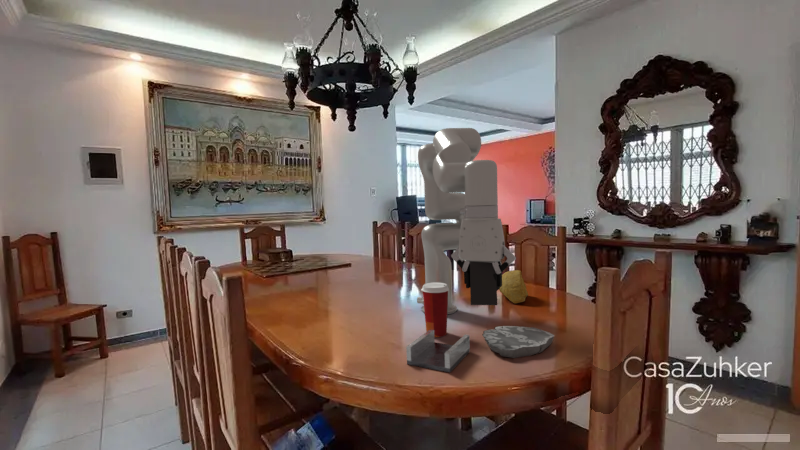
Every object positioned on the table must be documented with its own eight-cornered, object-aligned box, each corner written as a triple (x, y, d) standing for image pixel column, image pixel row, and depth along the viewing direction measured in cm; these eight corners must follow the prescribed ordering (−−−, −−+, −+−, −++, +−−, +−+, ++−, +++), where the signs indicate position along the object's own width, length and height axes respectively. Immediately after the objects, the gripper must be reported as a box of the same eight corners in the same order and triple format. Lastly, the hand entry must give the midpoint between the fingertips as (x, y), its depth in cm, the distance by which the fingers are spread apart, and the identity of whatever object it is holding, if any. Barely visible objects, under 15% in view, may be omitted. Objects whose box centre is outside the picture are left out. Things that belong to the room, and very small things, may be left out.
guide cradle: (407, 364, 98) (406, 346, 98) (430, 345, 110) (430, 329, 110) (449, 372, 92) (449, 354, 92) (469, 351, 105) (469, 334, 104)
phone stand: (497, 305, 90) (496, 253, 89) (470, 305, 91) (469, 253, 90) (494, 295, 98) (494, 247, 97) (470, 295, 99) (469, 248, 99)
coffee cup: (452, 330, 122) (451, 282, 121) (447, 339, 114) (445, 288, 113) (426, 328, 124) (425, 281, 123) (419, 337, 117) (417, 287, 116)
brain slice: (513, 330, 120) (513, 321, 120) (564, 347, 106) (564, 336, 106) (466, 346, 109) (466, 335, 109) (515, 366, 95) (515, 354, 95)
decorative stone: (481, 294, 155) (504, 269, 148) (496, 282, 167) (518, 258, 159) (507, 318, 151) (531, 294, 143) (520, 304, 163) (543, 280, 155)
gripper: (441, 214, 94) (443, 288, 95) (514, 213, 85) (516, 295, 87) (453, 212, 100) (454, 282, 102) (522, 212, 92) (523, 287, 93)
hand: (483, 287), depth 94 cm, fingers closed on phone stand, 6 cm apart
